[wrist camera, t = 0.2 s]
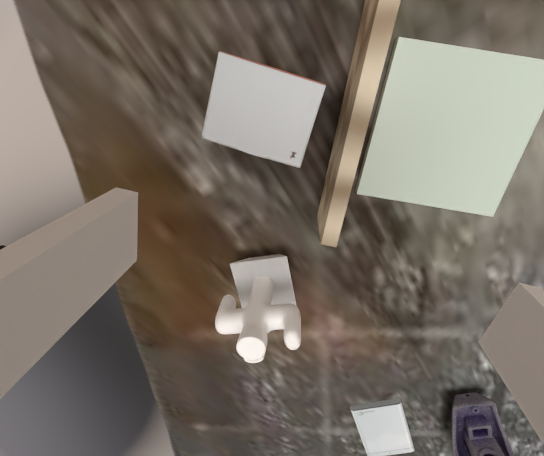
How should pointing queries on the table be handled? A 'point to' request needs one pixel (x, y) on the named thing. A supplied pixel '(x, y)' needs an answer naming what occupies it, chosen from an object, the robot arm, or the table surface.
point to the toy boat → (477, 427)
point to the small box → (261, 109)
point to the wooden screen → (355, 114)
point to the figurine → (260, 306)
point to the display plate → (451, 125)
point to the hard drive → (383, 427)
